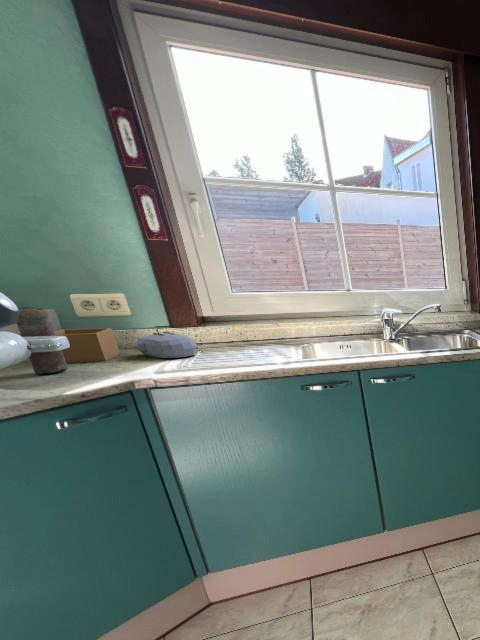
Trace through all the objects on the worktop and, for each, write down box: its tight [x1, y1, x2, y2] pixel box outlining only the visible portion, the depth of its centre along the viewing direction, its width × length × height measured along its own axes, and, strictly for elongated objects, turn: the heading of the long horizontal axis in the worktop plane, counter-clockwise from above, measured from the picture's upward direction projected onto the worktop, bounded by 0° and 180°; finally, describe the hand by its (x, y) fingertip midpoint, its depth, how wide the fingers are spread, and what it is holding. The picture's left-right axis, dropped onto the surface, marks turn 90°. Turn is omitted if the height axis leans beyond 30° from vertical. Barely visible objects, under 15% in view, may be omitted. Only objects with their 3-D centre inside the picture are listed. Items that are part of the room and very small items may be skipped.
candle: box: [15, 306, 69, 375], centre depth 151 cm, size 8×7×20 cm
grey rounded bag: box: [136, 331, 198, 359], centre depth 181 cm, size 15×8×20 cm
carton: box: [54, 327, 121, 364], centre depth 173 cm, size 13×13×10 cm
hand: (32, 340), depth 148 cm, fingers open, 8 cm apart
